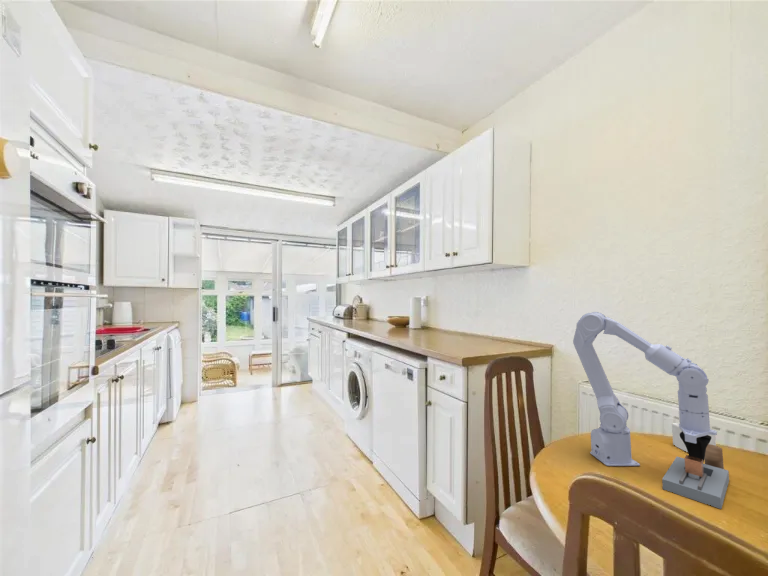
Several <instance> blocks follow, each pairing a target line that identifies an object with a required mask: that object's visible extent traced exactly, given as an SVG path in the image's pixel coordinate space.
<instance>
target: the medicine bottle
mask: <svg viewBox="0 0 768 576" xmlns="http://www.w3.org/2000/svg"><path fill="white" fill-rule="evenodd" d="M679 424H680V419H679V418H678V422H672V423H671V433H672V445H673V446H674V445H675V446H674V447H676V448H678V449H680V450H682V451H684V452H685V451H686V453H687V452H688V451H687V448H686V446H685V444H684V442H683V441H682V439H681V438H680V433H681V432H682V430H681V429H680V428H679ZM709 436H711V440H710V443H709V444H710V445H715V446H717V442H716V435H711V434H710V435H709Z"/></svg>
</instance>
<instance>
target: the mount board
mask: <svg viewBox="0 0 768 576" xmlns="http://www.w3.org/2000/svg"><path fill="white" fill-rule="evenodd" d="M703 467H704V474H703V476H702V477H701V478H700V480H697V479H694V478H690V477H688V473H687V472H685V457H681V456H675V458H674V460H673V461H672V463H671V465H670V466H669V468H668V469H667V471H666V473H665V474H664V476H663V477H662V479H661V480H662V490H664V491H666V490H667V492H669V491H670V493H672V492H673V494H675V495H679V496H682V497H685V498H687V499H689V500H694V501H697V502H699V503H702V504H705V505H707V504H708V505H709V506H710V505H711V507H713V508H717V509H720V510H722V508H723V504H724V502H725V501H724V500H725V498H726V494H727V489H728V487H729V482H730V474H729V470H728V469H725V468H724V469H721V468H717V467H714V466H710V465H706V464H705V463H703Z"/></svg>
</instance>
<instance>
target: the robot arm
mask: <svg viewBox="0 0 768 576" xmlns="http://www.w3.org/2000/svg"><path fill="white" fill-rule="evenodd" d="M601 332H603V334H604V335H612V336H616V337H618V338H620V339H621V340H623V341H624V342H626V343H628V344H629V345H631V346H633V347H634V348H636V349H638V350H639V351H641V352H642V353H643V354H644V357H645V360H646V361H648V362H649V363H650V364H652V365H654V366H656V367H657V368H659V369H660V370H662V371H664V372H665V373H666V374H668V375H669V376H675V377H676V380H677V382H678V383H677V384H678V390H677V403H678V420H679V419H680V422H679V423H680V424H679V428H680V429H681V430H682V432H681V433H680V438H681V439H682V441H683V442H684V444H685V446H686V448H687V451H688V454H687V455H689V456H692V457H696V458H700V459H703V463H705V460H704V458H705V452H706V448H707V445H708V444H709V443H710V440H711V436H709V435H710V434H711V435H715V436H717V435H718V431H717V430H715V429H711V424H710V423H711V422H710V408H709V407H710V406H709V396H708V394H707V391H708V388H707V385H708V383H709V382H710V380H709V378H708V376H707V374H706V372H705V371H704V369H703V368H701V367H700V366H699V365H698V364H697V363H694V362H692V360H691V359H690V358H688V357H687V358H684V357H683V356H682V355H680V354H678V353H677V352H675V351H673V348H672V347H671V346H669V345H668V344H667V345H663V344H662V343H654V344H653V343H651V342H649V340H646V339H645V337H642V336H641V335H639V334H638V333H636V332H635V331H633V330H631V329H630V328H629V327H627V326H625V325H624V324H622V323H621V322H620V321H618V320H616V319H613V318H611V317H609V316H606V315H604V314H603V313H602V312H599V311H591V312H586V313H585V314H583V315H582V316H581V317H580V319H578V320H577V322H576V327H575V332H574V336H573V340H572V342H573V343H572V344H573V346H574V348H575V350H576V353H577V356H578V358H579V360H580V363H581V365H582V367H583V370H584V372H585V374H586V376H587V379H588V381H589V384H590V386H591V388H592V390H593V393H594V396H595V398H596V401H597V409H598V411H599V422H600V424H599V425H600V426H599V427H598V428H593V429H591V431H590V448H591V450H590V451H589V453H590V454H591V455H592V456H593V457H595V458H596V459H597V460H598V461H599V462H601V463H603V464H604V465H605V466H607V467H629V466H630V467H640V466H641V464H640V463H639V462H638V461H637V460H634V459H633V458H632V441H631V439H632V438H631V429H630V428H629V427H628V425H627V421H628V420H629V412H628V410H627V409H626V407H625V406H623V405H622V403H621V402H620V400H619V398H618V397H617V395H616V394H615V393H614V390H613V388H612V385H611V384H610V381H609V379H608V377H607V374H606V372H605V370H604V367H603V366H602V363H601V361H600V359H599V357H598V354H597V352H596V349H595V347H594V345H593V343H594V341H595V340H596V338H597V337H598V335H599V334H601Z"/></svg>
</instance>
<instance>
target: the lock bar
mask: <svg viewBox="0 0 768 576" xmlns="http://www.w3.org/2000/svg"><path fill="white" fill-rule="evenodd" d="M684 459H685V472H687V473H688V477H690V478H694V479H697V480H700V478H701V477H702V476H703V474H704V467H703V464H704V462H703V459H700V458H696V457H692V456H689V454H686V455H685V456H684Z"/></svg>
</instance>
